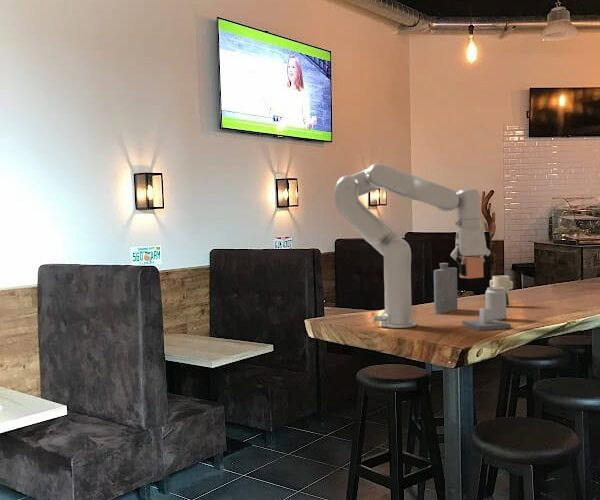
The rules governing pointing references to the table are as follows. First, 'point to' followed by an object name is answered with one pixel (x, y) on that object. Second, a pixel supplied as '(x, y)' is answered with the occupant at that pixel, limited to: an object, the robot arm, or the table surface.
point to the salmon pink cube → (473, 267)
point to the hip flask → (445, 289)
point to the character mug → (502, 284)
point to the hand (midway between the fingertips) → (471, 274)
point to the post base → (486, 326)
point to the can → (496, 302)
